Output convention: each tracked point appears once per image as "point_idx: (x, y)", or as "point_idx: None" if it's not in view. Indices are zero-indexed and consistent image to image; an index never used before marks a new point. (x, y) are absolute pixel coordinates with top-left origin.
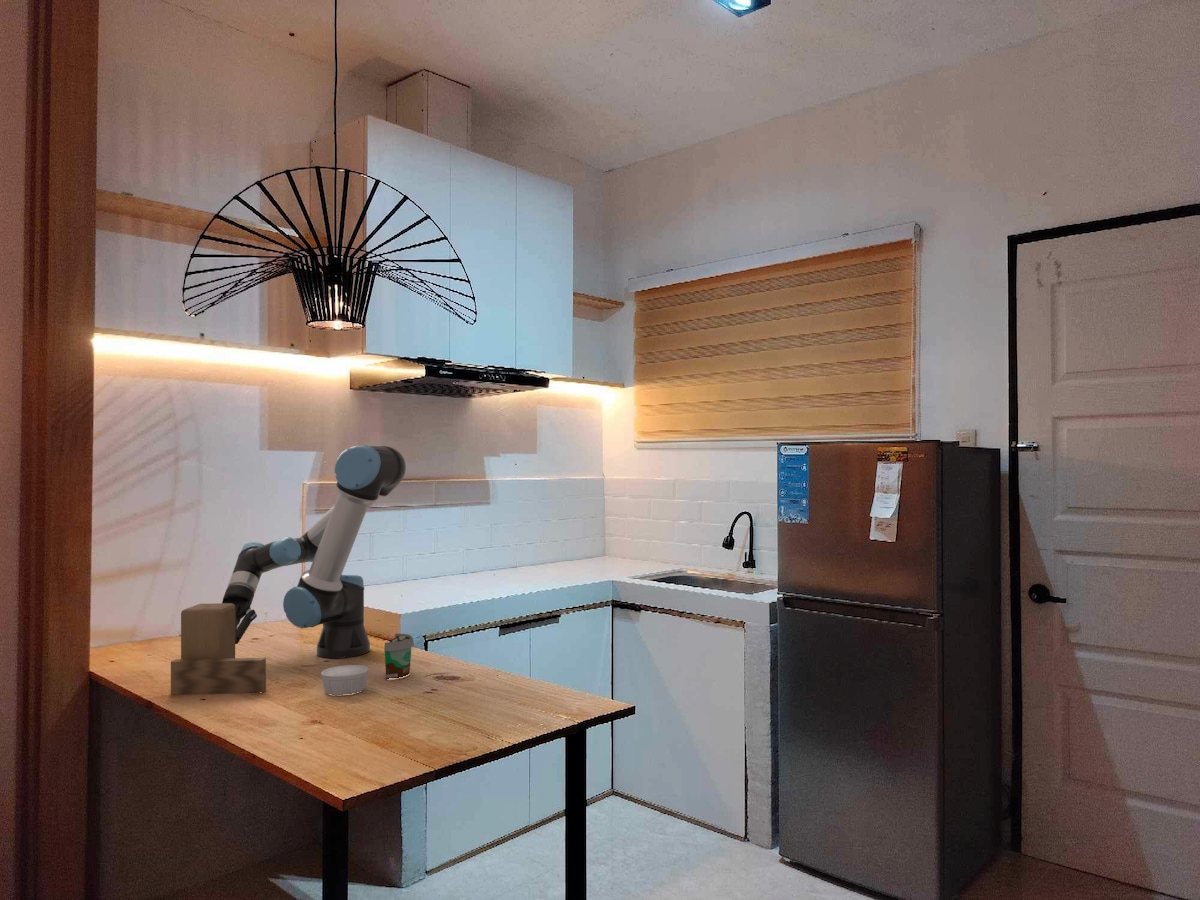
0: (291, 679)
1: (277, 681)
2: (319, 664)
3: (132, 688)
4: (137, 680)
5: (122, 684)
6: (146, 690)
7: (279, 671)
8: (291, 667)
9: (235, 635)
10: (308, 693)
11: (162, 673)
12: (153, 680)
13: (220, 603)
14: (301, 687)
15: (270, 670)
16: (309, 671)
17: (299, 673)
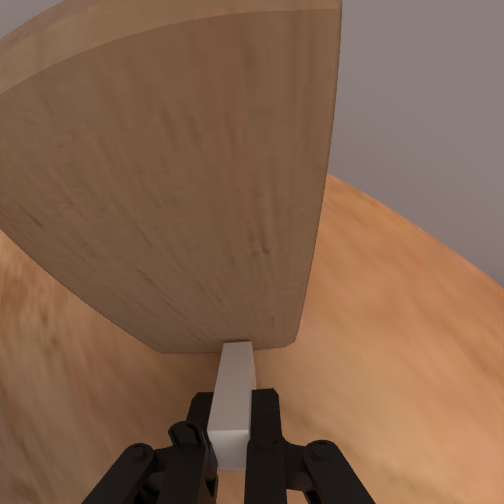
0: (22, 344)
1: (45, 327)
2: (9, 494)
3: (433, 240)
4: (485, 317)
5: (485, 274)
6: (381, 225)
7: (65, 448)
8: (54, 489)
9: (124, 463)
10: (5, 235)
11: (476, 408)
12: (447, 325)
13: (6, 35)
14: (8, 272)
15: (95, 470)
16: (4, 423)
17: (17, 407)
